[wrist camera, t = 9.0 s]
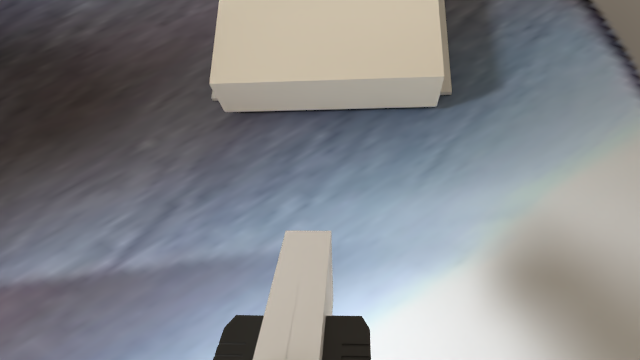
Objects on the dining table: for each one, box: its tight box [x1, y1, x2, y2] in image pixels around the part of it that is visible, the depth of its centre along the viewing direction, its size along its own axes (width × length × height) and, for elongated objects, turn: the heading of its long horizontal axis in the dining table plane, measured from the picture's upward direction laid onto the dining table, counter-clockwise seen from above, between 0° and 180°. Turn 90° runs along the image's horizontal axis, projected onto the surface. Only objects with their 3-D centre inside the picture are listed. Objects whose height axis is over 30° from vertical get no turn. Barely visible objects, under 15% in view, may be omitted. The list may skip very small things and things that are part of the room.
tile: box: [209, 0, 444, 112], centre depth 29 cm, size 12×3×10 cm
